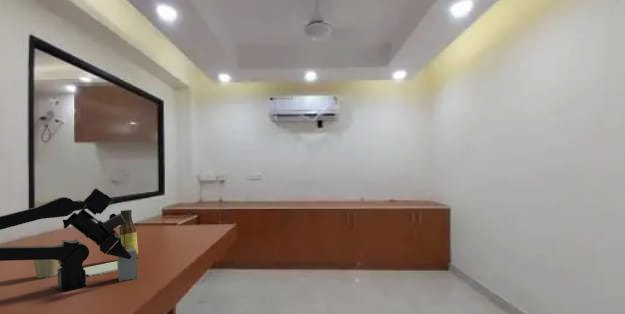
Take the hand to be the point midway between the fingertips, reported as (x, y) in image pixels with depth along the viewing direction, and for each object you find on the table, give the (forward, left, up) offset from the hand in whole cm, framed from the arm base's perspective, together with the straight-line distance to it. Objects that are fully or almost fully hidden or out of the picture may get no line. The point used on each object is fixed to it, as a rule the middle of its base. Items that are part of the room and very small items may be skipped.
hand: (129, 255), depth 134 cm
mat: (+1, +22, -7) cm, 23 cm away
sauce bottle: (+14, +31, -7) cm, 35 cm away
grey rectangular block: (-1, 0, -7) cm, 7 cm away
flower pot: (-15, +31, -7) cm, 35 cm away
